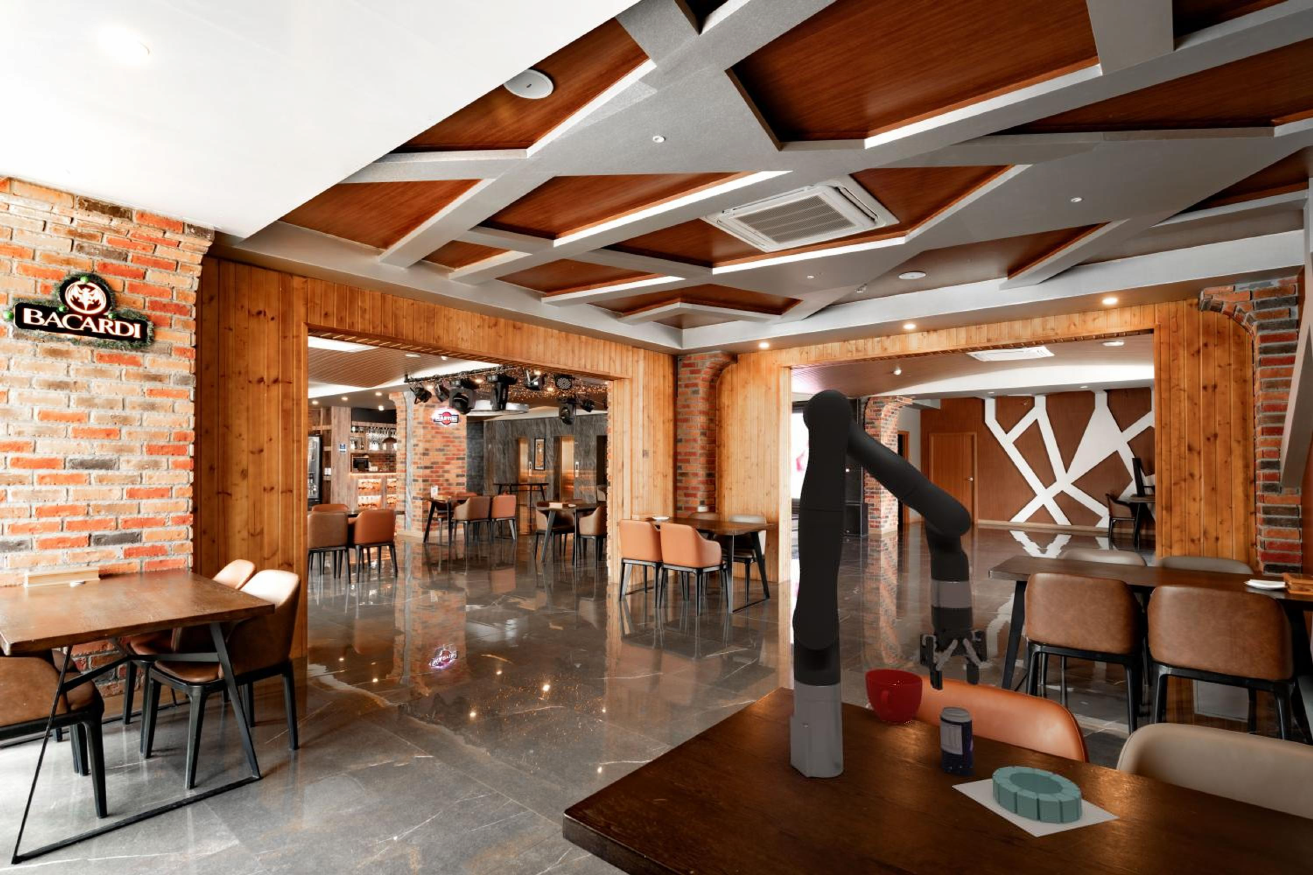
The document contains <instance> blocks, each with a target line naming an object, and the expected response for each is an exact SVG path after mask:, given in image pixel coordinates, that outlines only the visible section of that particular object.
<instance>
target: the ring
mask: <svg viewBox="0 0 1313 875" xmlns="http://www.w3.org/2000/svg"><path fill="white" fill-rule="evenodd" d="M992 778H993V797H994V798H995V800H996V801H997V803H998V804H1000V806H1001V807H1003V808H1005V809H1007V810H1008V811H1010V812H1012V813H1013V814H1016V813H1017V814H1018V816H1021V817H1024V818H1028V819H1031V820H1034V821H1038V819H1039V820H1040V821H1041V822H1045V823H1055V824H1061V823H1063V824H1066V823H1070V822H1075V821H1077V820H1079V819H1080V817H1081V815H1082V791H1081V789H1080V788H1079V787H1078V785H1076V783H1075V782H1073V781H1072V780H1069V778H1066V777H1064V776H1061V775H1059V774H1058V773H1055V774H1054V772H1052V771H1048V770H1043V769H1041V768H1035V767H1034V769H1033V768H1032V767H1030V766H1029V767H1028V766H1016V765H1014V766H1005V767H999V768H998V769H996V770H995V771H993V773H992Z"/></svg>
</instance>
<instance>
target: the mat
mask: <svg viewBox="0 0 1313 875" xmlns="http://www.w3.org/2000/svg"><path fill="white" fill-rule="evenodd" d="M951 787H952V788H953V789H956V790H957V791H959V792H960V793H962V794H964V795H965V796H967V797H969V798H970V799H972V800H974V801H976V802H977V803H979V804H980V805H982V806H984V807H985V808H987V809H988V810H991V811H992V812H994V813H995V814H997V815H999V816H1001V817H1003V818H1004V819H1006V821H1009V822H1010V823H1012V824H1014V825H1016V826H1017V827H1019V828H1021V829H1022V830H1024V831H1026V832H1027V833H1028V834H1030V835H1032V836H1034V837H1036V838H1037V837H1039V838H1040V837H1042V836H1048V835H1051V834H1056V833H1060V832H1064V831H1070V830H1072V829H1073V830H1074V829H1078V828H1082V827H1087V826H1092V825H1096V824H1100V823H1105V822H1109V821H1112V820H1113V821H1114V820H1119V819H1120V816H1117V815H1114V814H1113V813H1111V812H1109V811H1107V810H1105V809H1103V808H1101V807H1098V806H1097V805H1095V804H1093V803H1091V802H1088V801H1087V800H1085V799H1082V798H1081V799H1082V815H1081V817H1080V819H1079V820H1077V821H1075V822H1070V823H1066V824H1063V823H1061V824H1055V823H1045V822H1041V821H1040V820H1039V819H1038V821H1034V820H1031V819H1028V818H1024V817H1021V816H1018V814H1017V813H1016V814H1013V813H1012V812H1010V811H1008V810H1007V809H1005V808H1003V807H1001V806H1000V804H998V803H997V801H996V800H995V798H994V797H993V777H992V778H987V779H983V780H978V781H977V780H976V781H971V782H965V783H961V784H956V785H952V786H951Z"/></svg>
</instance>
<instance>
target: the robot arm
mask: <svg viewBox="0 0 1313 875" xmlns="http://www.w3.org/2000/svg"><path fill="white" fill-rule="evenodd" d="M802 419H803V423H804V425H805V427H806V428H807V431H808V432H807V434H808V457H807V464H806V468H805V473H804V477H803V479H802V480H803V481H802V486H801V489H800V490H801V491H800V498H799V503H798V516H797V517H798V519H797V549H798V551H797V553H798V566H799V567H798V569H799V579H798V580H799V581H798V589H797V596H796V601H795V607H794V610H793V614H792V618H791V627H792V630H793V631H792V633H793V638H792V640H793V656H792V657H793V664H792V665H793V666H792V668H793V710H794V711H793V712H794V713H793V714H794V715H791V716H790V717H789V718H790V719H789V720H790V725H789V726H790V730H789V731H790V765H791V766H793V768H795V769H797V770H798V771H799V772H800V773H801V774H803V775H804V776H805V777H807V778H809V777H814V778H815V777H816V778H832V777H833V778H834V777H837V776H839V775H841V774H842V773H843V771H844V756H843V754H844V753H843V720H842V717H843V715H842V710H843V709H842V678H841V677H842V674H841V669H842V667H841V666H842V665H841V650H840V648H841V647H840V645H841V644H840V630H841V629H840V628H841V626H840V625H841V624H840V623H841V622H840V616H839V604H838V577H839V570H840V566H841V560H842V555H843V554H842V553H843V547H844V541H845V540H844V539H845V532H846V530H845V529H846V515H847V514H846V511H847V474H846V473H847V472H846V471H847V470H846V468H847V467H846V466H847V465H846V463H847V462H846V461H847V456H848V457H849V458H850V459H852V460H853V461H854V462H855V463H856V464H858V465H859V466H860V467H861V468H863V470H864V471H865V472H867V473H868V474H869V475H870V477H872V478H873V479H874V480H875V481H876V482H877V483H879V485H881V486H882V487H883V488H885V490H886V491H888V492H889V493H890V494H891V495H892V496H893V497H894V498H896V500H898V501H899V502H901V503H902V505H904V506H906V507H907V508H908V509H909V508H910V509H911V510H914V511H915V512H916V513H918V514H919V515H920V516H921V517H922V518H923V520H924V521H923V522H924V524H923V525H924V526H923V527H924V532H925V533H924V534H925V538H926V542H927V548H928V552H929V554H930V558H929V560H930V561H929V564H930V567H929V569H930V587H929V589H930V590H929V597H930V619H931V625H932V626H933V634H932V635H931V634H924V633H922V634H920V635H919V664H920V665H921V666H923V667H926V668H928V670H929V684H930V686H932V689H934V690H937V691H942V690H943V689H944V686H943V685H944V684H943V670H942V668H943V666H944V664H945V662H948V660H949V659H950V658H952V657H953V658H954V657H956V656H960V657H961V656H962V657H963V658H964V660H965V661H966V664H965V668H966V682H967V683H968V684H969V685H972V686H978V685H979V681H980V667H979V666H980V665H981V664H982V663H983V662H987V661H988V651H987V642H986V640H987V639H986V632H985V631H984V630H980V629H977V628H973V627H974V617H973V616H974V614H973V613H974V612H973V593H972V586H971V581H970V564H969V561H970V560H969V557H968V554H967V552H965V550H964V548H963V546H962V539H961V538H962V537H963V536H964V535H966V534H967V533H968V532H969V531H970V529H971V526H972V521H973V519H972V516H971V513H970V511H969V510H968V508H967V507H966V506H964V504H962V503H961V502H960V501H959V500H958V499H957V498H955V497H954V496H952V495H951V494H949V493H948V492H946V491H945V490H944V489H942V488H940V487H939V486H937V485H936V484H934V483H933V482H932V481H931V480H930V479H928V477H926V475H924V474H923V472H921V471H919V469H917V467H915V466H914V465H913V464H911V463H910V462H909V460H907V459H905V457H903V456H902V455H900V454H898V453H897V452H896V451H894V450H892V449H891V448H890V447H888V446H887V445H885V444H883V443H882V442H880V441H879V440H878V439H876V438H874V437H873V436H872V435H871V434H869V433H868V432H867V431H866V430H865V429H864V428H863V427H862V426H861V425H860V424H858V422H857V421H856V420H855V419H854V417H853V408H852V404H851V402H850V400H849V399H848V397H847V396H846V395H845V394H844V393H843V392H841V391H839V390H836V389H824V390H822V391H819V392H817V393H815V394H814V395H812V396H811V398H809V399H808V400H807V402H806V403H805V405H804V406H803V411H802Z"/></svg>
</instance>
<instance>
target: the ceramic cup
mask: <svg viewBox="0 0 1313 875" xmlns="http://www.w3.org/2000/svg"><path fill="white" fill-rule="evenodd" d="M864 677H865V678H864V680H865V689H866V695H867V698H868V701H869V704H870V706H871V708H872V710H873V711H874V712H875V714H876V715H877V717H879V718H881V719H882V721H883V720H884V721H883V722H885V721H886V722H885V723H887V722H891V723H897V724H896V725H905V724H904V723H906V722H908V721H909V722H910V721H911V720H912V719H914V717H915V716H916V714H917V713H918V711H919V709H920V707H921V704H922V699H923V698H922V697H923V686H924V685H923V682H924V681H923V678H922V677H921V676H920V675H918V674H916V673H914V672H910V671H905V670H900V669H893V668H891V669H890V668H882V669H881V668H880V669H877V668H876V669H871V670H868V671H866V672H865V674H864ZM898 681H899V682H898ZM894 684H896V685H894ZM881 719H880V720H881ZM891 723H890V724H891ZM906 724H907V723H906Z"/></svg>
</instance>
